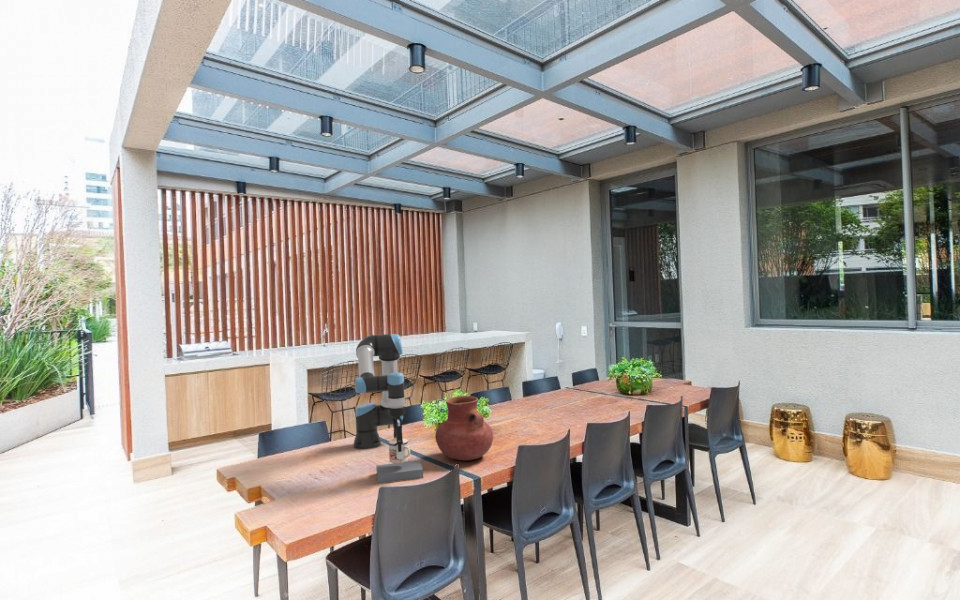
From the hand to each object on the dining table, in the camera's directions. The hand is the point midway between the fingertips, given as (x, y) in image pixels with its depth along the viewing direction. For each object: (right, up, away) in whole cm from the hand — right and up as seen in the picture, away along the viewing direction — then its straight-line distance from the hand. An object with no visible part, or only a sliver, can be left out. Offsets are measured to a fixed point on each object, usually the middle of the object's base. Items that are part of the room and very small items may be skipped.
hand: (398, 455), depth 231 cm
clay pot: (+30, -9, +24) cm, 39 cm away
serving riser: (0, -9, 0) cm, 9 cm away
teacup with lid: (+1, -3, -1) cm, 3 cm away
